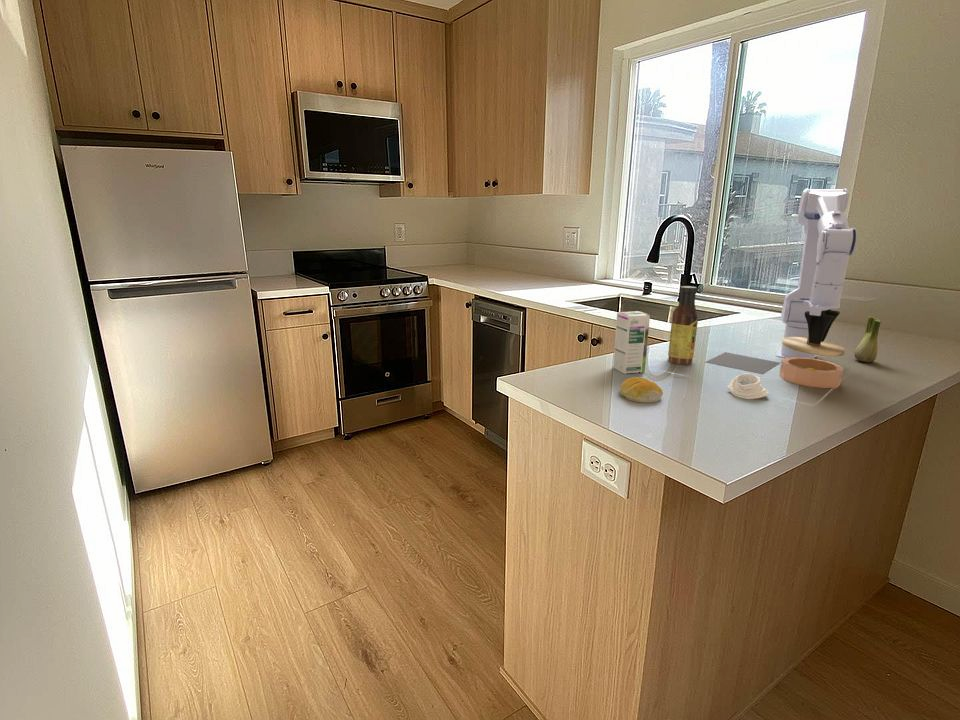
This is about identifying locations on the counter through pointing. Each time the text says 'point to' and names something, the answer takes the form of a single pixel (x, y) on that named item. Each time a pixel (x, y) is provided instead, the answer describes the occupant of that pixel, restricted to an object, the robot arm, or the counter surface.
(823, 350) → the lid
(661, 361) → the counter surface
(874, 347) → the fennel bulb
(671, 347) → the sauce bottle
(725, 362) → the mat
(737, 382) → the whipped cream
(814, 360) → the ring
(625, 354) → the syrup box
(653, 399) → the bread roll
